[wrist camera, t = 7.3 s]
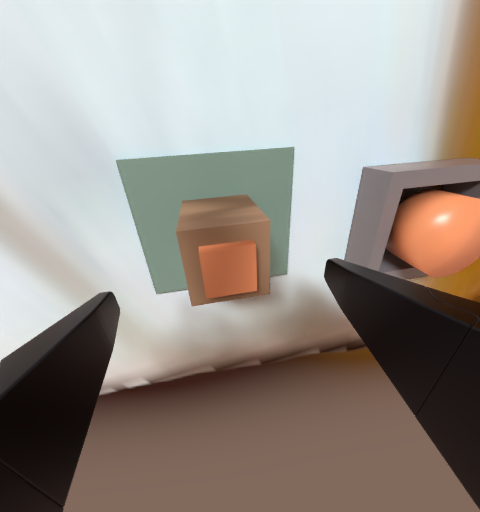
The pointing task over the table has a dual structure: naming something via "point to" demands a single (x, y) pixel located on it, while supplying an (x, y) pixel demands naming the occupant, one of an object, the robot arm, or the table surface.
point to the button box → (386, 203)
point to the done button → (436, 232)
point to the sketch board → (200, 187)
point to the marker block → (224, 248)
